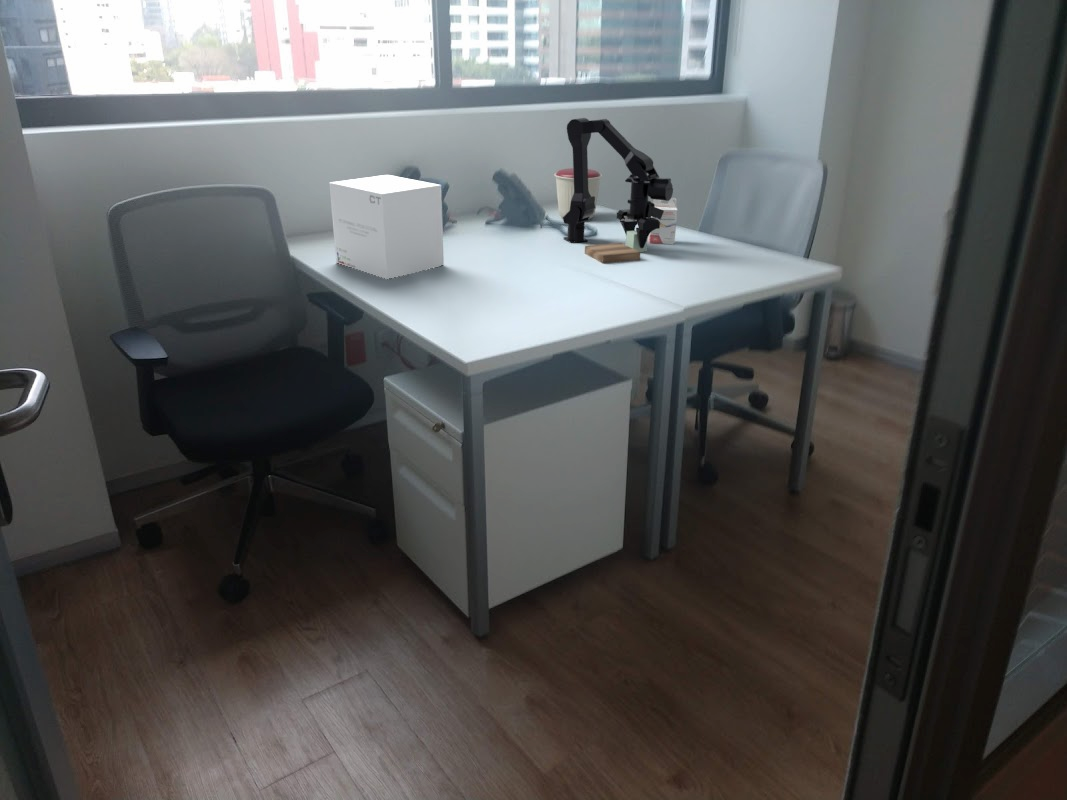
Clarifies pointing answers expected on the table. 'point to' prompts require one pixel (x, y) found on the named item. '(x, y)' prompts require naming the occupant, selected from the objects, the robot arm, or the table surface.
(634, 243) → the sage block
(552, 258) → the table surface
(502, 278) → the table surface
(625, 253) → the walnut base
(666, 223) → the ink cartridge box
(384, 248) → the cube
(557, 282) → the table surface
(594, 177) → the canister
